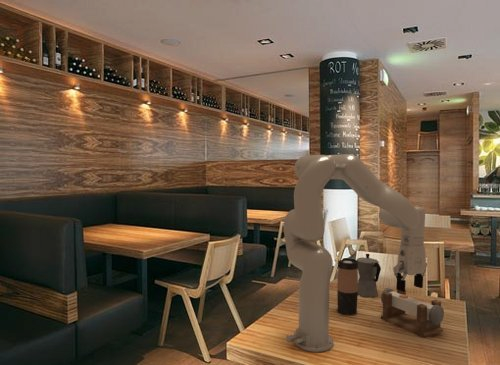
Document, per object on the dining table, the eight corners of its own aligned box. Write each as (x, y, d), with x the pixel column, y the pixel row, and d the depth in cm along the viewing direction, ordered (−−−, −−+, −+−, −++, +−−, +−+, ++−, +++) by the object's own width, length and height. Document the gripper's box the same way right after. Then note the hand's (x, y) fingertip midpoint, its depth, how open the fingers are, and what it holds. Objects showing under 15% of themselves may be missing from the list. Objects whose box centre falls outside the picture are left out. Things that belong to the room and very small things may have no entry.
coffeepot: (349, 290, 171) (350, 251, 170) (367, 288, 173) (367, 249, 172) (369, 302, 156) (370, 259, 155) (388, 299, 159) (389, 257, 158)
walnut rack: (443, 330, 129) (443, 302, 129) (424, 337, 124) (425, 308, 123) (398, 313, 144) (399, 287, 144) (380, 318, 139) (380, 292, 139)
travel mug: (358, 316, 141) (358, 263, 140) (337, 314, 143) (338, 262, 142) (356, 308, 149) (357, 258, 148) (336, 307, 150) (337, 257, 149)
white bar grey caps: (443, 322, 127) (444, 304, 126) (432, 326, 123) (432, 307, 123) (392, 303, 144) (392, 286, 144) (380, 306, 141) (381, 289, 141)
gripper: (405, 244, 125) (402, 295, 126) (436, 241, 134) (434, 288, 134) (386, 240, 131) (384, 289, 132) (417, 237, 140) (415, 282, 141)
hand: (409, 288), depth 133 cm, fingers open, 9 cm apart
